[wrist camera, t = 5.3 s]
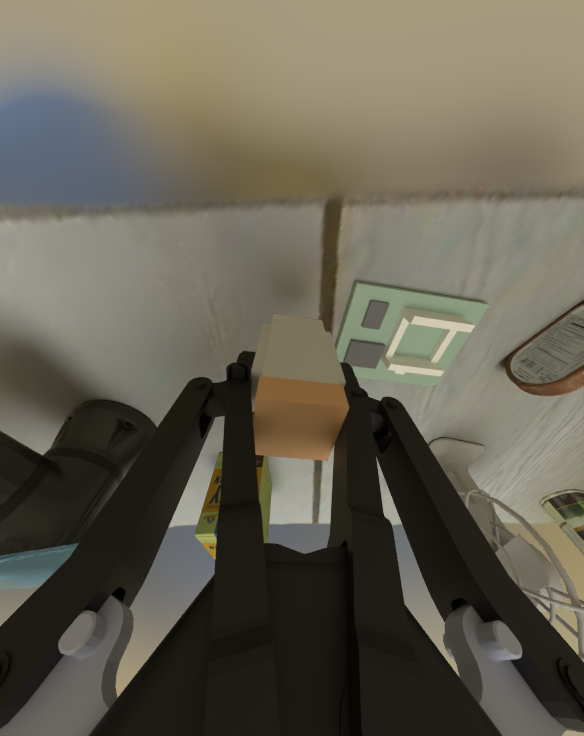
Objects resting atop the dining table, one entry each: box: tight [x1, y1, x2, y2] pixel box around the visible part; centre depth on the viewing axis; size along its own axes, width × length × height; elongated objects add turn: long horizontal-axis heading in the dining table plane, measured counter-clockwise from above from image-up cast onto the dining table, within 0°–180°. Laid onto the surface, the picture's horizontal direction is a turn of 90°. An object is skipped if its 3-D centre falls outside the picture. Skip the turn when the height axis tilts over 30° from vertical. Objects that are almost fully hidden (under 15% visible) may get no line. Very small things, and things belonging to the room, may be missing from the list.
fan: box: [429, 438, 584, 662], centre depth 41 cm, size 30×22×30 cm
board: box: [335, 281, 490, 387], centre depth 31 cm, size 18×14×4 cm
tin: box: [506, 303, 584, 396], centre depth 29 cm, size 15×3×8 cm, turn 149°
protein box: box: [194, 452, 272, 559], centre depth 47 cm, size 10×15×16 cm
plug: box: [254, 314, 349, 461], centre depth 15 cm, size 4×4×10 cm
